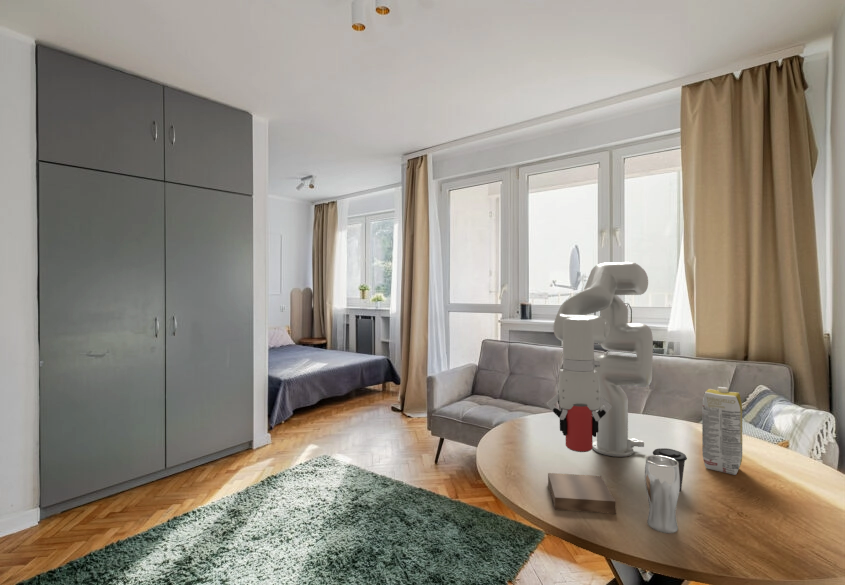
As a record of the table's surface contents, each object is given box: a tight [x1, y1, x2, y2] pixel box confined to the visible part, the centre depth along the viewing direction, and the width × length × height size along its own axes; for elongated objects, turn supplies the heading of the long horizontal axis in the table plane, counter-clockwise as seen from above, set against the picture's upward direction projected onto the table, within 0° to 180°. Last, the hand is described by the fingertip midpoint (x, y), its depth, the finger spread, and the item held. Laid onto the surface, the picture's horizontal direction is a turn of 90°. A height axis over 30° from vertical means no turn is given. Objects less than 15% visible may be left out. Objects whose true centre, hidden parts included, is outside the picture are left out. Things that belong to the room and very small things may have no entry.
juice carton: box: [701, 386, 743, 476], centre depth 127 cm, size 9×8×24 cm
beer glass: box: [644, 454, 680, 534], centre depth 98 cm, size 7×7×15 cm
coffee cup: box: [652, 448, 688, 493], centre depth 116 cm, size 8×8×10 cm
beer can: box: [565, 404, 594, 453], centre depth 111 cm, size 7×7×12 cm
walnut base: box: [547, 472, 617, 515], centre depth 111 cm, size 14×14×3 cm
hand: (578, 433), depth 111 cm, fingers closed on beer can, 6 cm apart
